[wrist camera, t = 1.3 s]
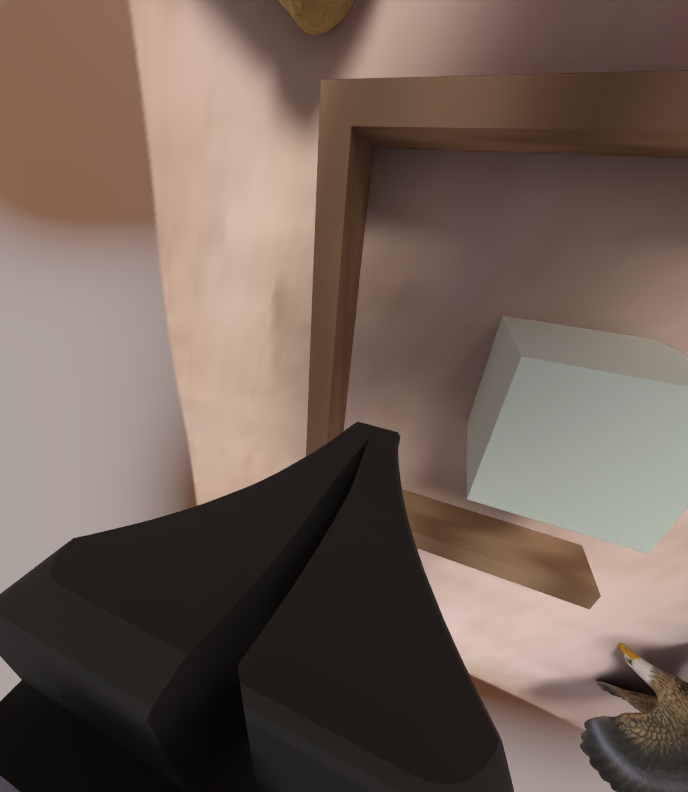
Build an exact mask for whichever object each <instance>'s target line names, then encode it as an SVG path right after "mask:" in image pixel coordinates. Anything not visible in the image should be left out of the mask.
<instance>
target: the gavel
mask: <svg viewBox="0 0 688 792" xmlns="http://www.w3.org/2000/svg"><path fill="white" fill-rule="evenodd" d="M278 1H279V2H280V4H281V5H282V6H283V7H284V8H285V10H286V11H287V12H288V13H289V15H290V16H291V17H292V18H293V20H294V21H295V22H296V23H297V24H298V26H299V27H300V28H301V29H302V30H303V31H304V32H306V33H308V34H310V35H320V34H323V33H326V32H328V31H329V30H331V29H332V28H334V27H335V26H336V25H337V24H338V23H340V22H341V21H342V20H343V19H344V18H345V17H346V16H347V14H348V12H349V11H350V9H351V7H352V5H353V3H354V2H355V0H278Z"/></svg>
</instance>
